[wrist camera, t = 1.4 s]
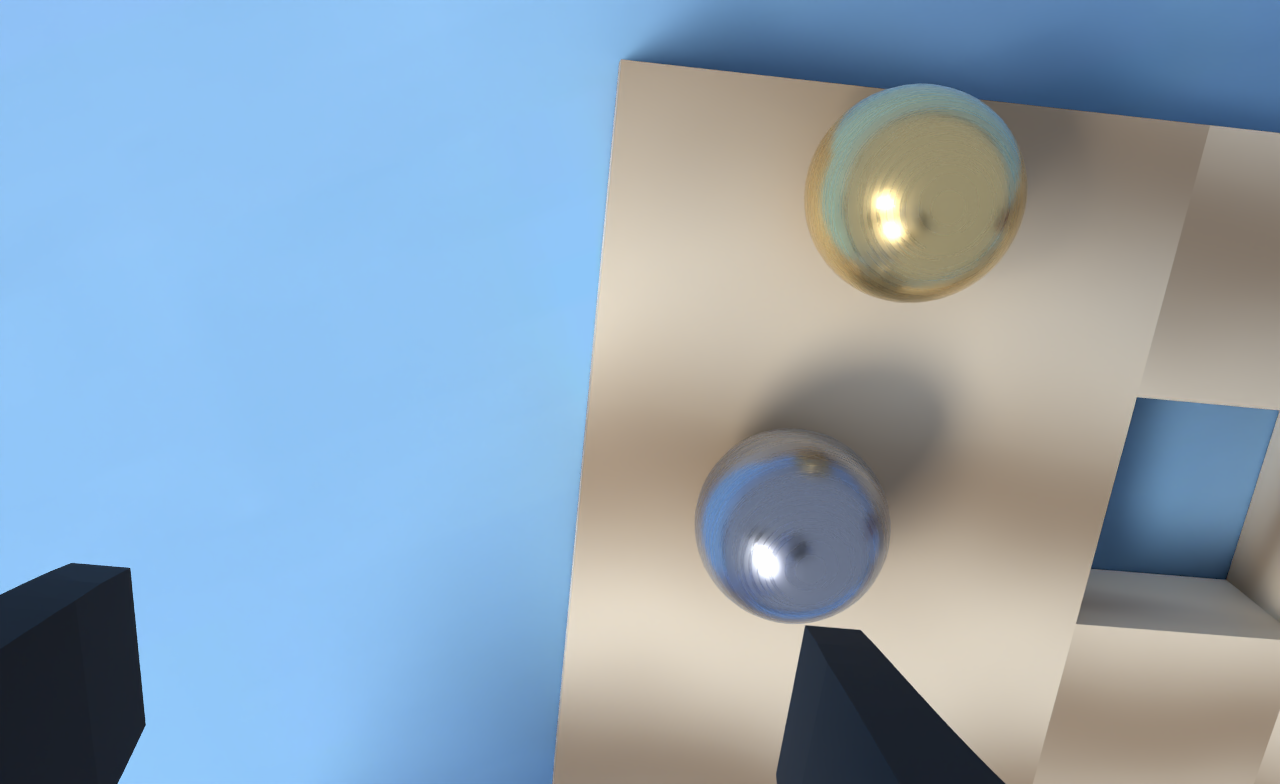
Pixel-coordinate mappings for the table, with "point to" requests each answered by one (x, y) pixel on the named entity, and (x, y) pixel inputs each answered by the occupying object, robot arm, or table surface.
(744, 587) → the steel ball
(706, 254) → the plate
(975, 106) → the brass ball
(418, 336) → the table surface
